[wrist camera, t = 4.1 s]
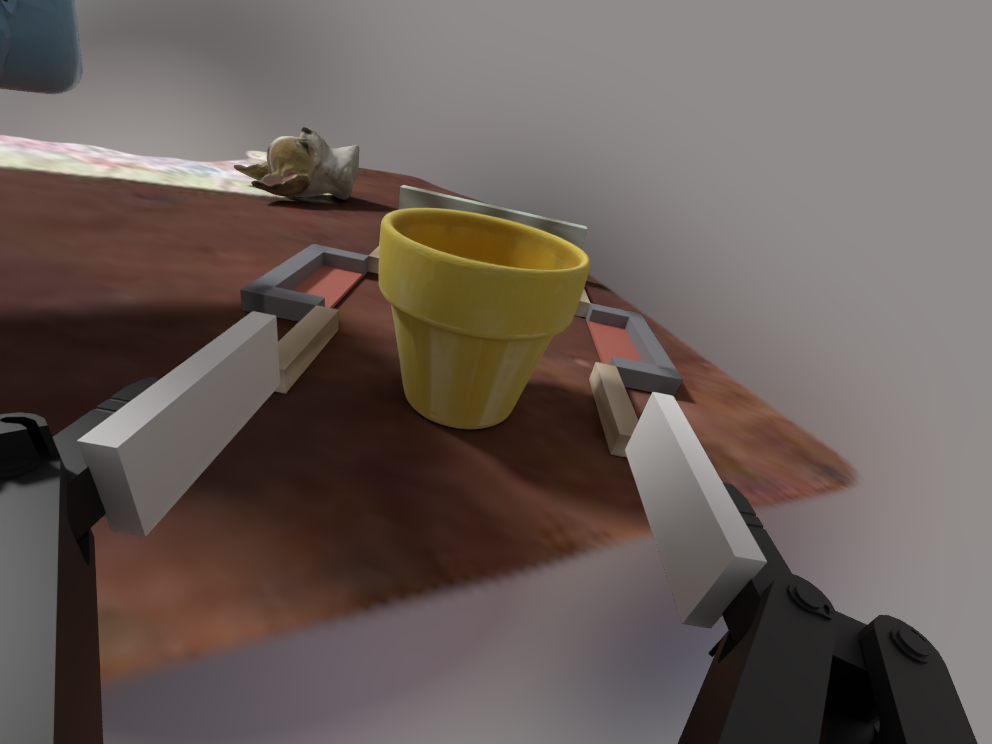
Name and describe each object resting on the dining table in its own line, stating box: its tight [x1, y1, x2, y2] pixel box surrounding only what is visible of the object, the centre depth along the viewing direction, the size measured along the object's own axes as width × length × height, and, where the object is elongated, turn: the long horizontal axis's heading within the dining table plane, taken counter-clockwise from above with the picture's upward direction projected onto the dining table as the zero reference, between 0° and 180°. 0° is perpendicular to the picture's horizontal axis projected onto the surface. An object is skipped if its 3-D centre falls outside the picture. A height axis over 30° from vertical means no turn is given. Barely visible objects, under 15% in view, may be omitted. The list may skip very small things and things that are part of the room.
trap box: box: [275, 185, 638, 457], centre depth 36 cm, size 21×32×6 cm, turn 178°
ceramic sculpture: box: [234, 127, 359, 200], centre depth 57 cm, size 11×9×15 cm
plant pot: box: [379, 208, 590, 429], centre depth 24 cm, size 10×10×10 cm
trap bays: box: [240, 244, 683, 397], centre depth 35 cm, size 31×12×2 cm, turn 88°
